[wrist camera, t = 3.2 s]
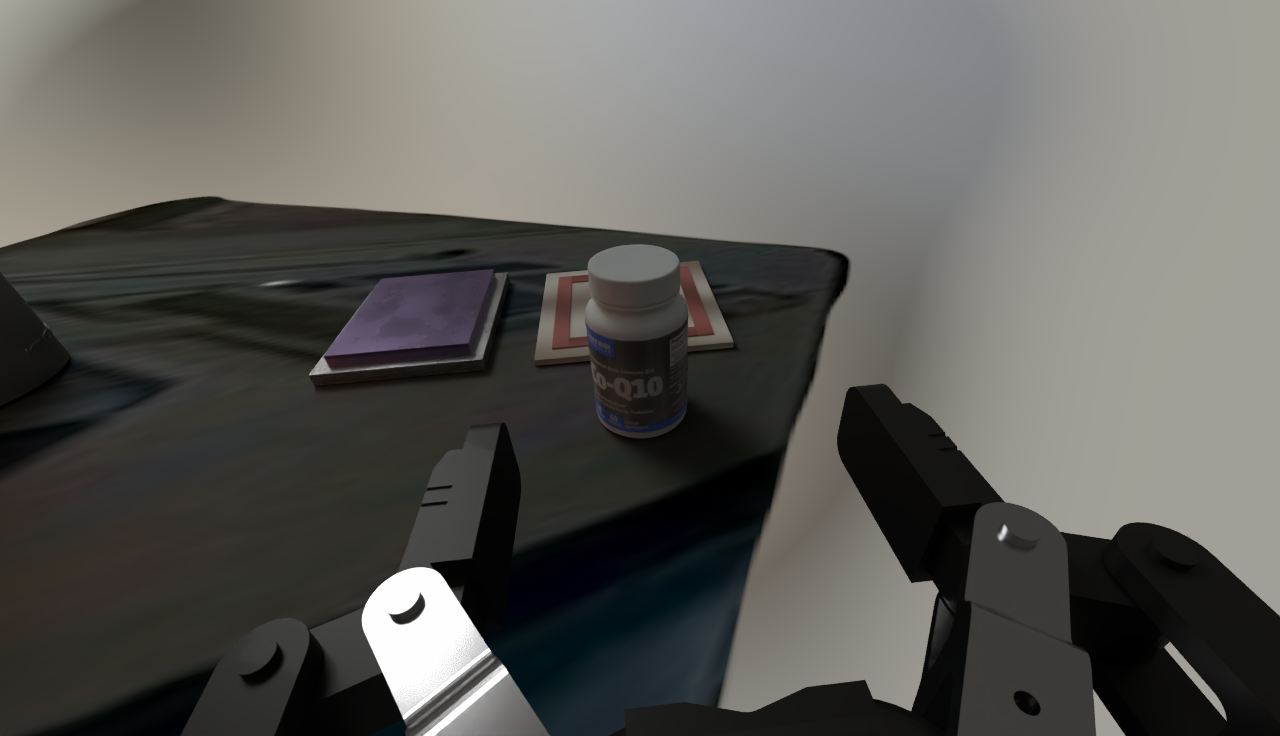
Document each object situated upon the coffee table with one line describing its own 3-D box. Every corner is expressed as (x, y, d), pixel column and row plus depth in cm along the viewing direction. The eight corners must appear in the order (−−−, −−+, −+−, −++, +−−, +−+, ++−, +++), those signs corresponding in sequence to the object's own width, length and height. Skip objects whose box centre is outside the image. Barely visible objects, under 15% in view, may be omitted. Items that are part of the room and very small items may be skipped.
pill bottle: (582, 430, 26) (557, 278, 21) (618, 376, 29) (604, 235, 24) (671, 450, 24) (668, 291, 19) (698, 391, 28) (701, 244, 23)
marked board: (733, 347, 31) (733, 340, 31) (535, 365, 30) (533, 358, 30) (698, 265, 41) (698, 259, 40) (547, 278, 40) (546, 272, 40)
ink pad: (485, 370, 30) (479, 349, 29) (314, 386, 30) (303, 365, 29) (509, 281, 40) (506, 264, 39) (381, 292, 40) (374, 275, 39)
